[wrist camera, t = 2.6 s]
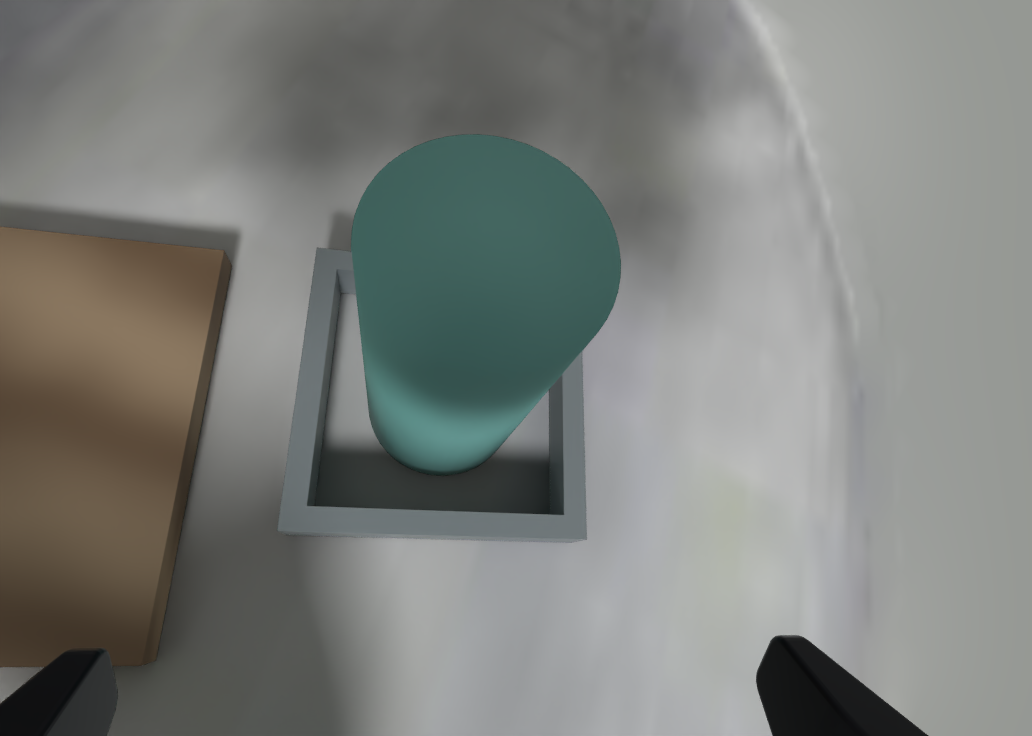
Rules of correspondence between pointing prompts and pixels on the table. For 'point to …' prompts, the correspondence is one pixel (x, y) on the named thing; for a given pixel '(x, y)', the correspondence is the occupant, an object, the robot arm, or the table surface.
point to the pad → (97, 435)
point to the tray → (312, 520)
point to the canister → (474, 293)
